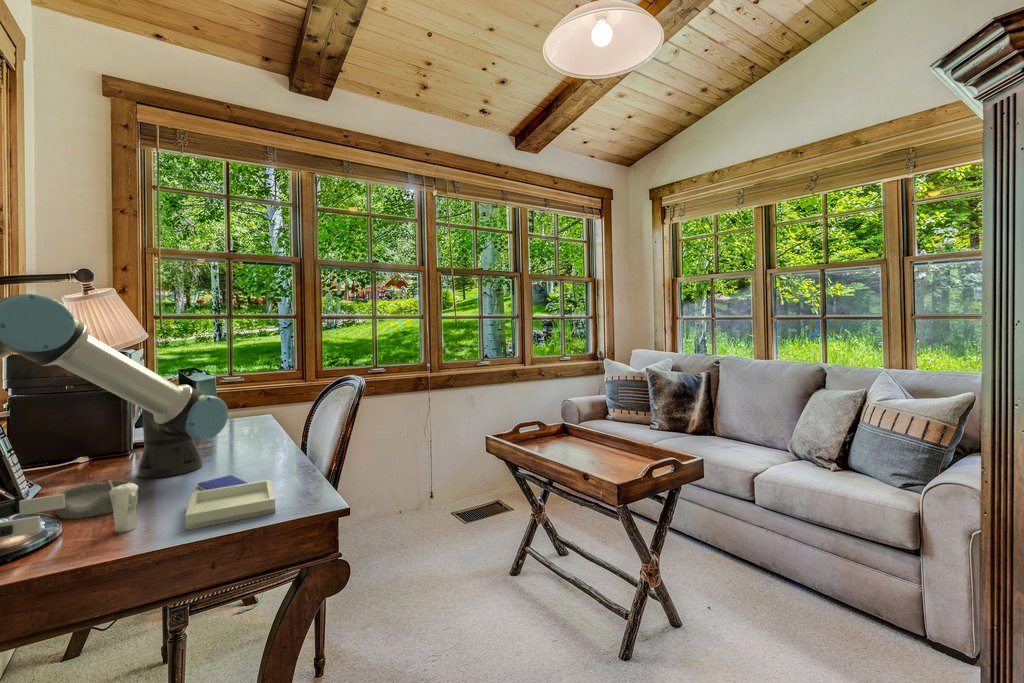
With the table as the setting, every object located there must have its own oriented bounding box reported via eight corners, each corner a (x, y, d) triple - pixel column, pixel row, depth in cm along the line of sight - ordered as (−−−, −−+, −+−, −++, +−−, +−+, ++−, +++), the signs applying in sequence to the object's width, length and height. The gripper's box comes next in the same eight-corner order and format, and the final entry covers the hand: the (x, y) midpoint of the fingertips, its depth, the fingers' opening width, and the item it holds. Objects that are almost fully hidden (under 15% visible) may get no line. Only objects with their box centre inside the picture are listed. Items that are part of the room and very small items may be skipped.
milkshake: (122, 524, 99) (119, 476, 99) (146, 524, 99) (143, 476, 98) (101, 533, 95) (98, 484, 94) (126, 534, 94) (123, 484, 94)
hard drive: (197, 482, 122) (215, 492, 114) (232, 474, 129) (251, 483, 121) (197, 488, 122) (215, 499, 114) (232, 480, 129) (251, 489, 121)
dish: (131, 511, 107) (130, 489, 107) (47, 527, 99) (45, 503, 99) (139, 493, 119) (138, 473, 119) (64, 506, 112) (63, 485, 111)
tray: (193, 505, 109) (192, 492, 109) (271, 491, 117) (270, 479, 117) (186, 530, 95) (185, 515, 95) (275, 512, 103) (274, 498, 103)
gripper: (-73, 534, 92) (73, 510, 102) (-170, 595, 70) (28, 557, 80) (-75, 495, 91) (71, 475, 102) (-174, 545, 70) (25, 513, 80)
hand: (53, 511), depth 91 cm, fingers open, 13 cm apart
